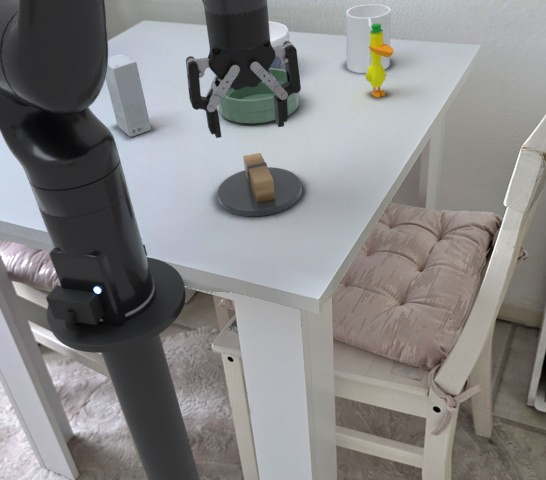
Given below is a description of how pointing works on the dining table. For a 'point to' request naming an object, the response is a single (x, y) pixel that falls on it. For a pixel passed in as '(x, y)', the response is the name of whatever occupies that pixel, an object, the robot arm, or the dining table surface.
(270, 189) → the clip
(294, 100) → the green bowl
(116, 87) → the cosmetic box
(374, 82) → the toy figure
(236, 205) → the plate
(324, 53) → the dining table surface
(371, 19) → the cup
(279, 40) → the bowl
